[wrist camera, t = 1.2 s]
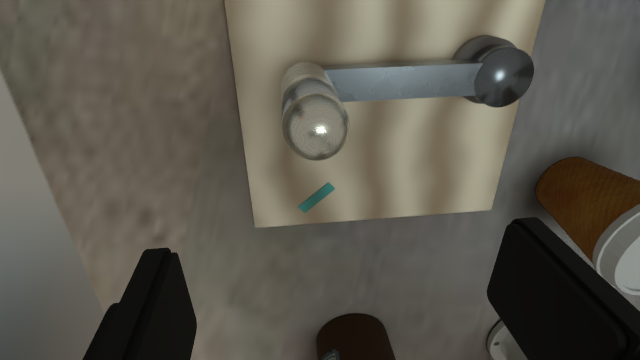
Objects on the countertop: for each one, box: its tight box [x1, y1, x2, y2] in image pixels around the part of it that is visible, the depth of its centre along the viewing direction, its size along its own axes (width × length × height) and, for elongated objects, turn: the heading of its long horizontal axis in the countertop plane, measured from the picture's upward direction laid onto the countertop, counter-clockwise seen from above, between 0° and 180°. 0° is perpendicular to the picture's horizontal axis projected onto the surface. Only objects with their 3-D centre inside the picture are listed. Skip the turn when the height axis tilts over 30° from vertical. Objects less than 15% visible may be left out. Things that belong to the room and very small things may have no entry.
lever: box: [281, 44, 534, 161], centre depth 23 cm, size 19×4×12 cm, turn 91°
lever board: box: [224, 0, 545, 228], centre depth 31 cm, size 25×22×3 cm
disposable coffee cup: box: [536, 157, 640, 295], centre depth 34 cm, size 10×10×12 cm
